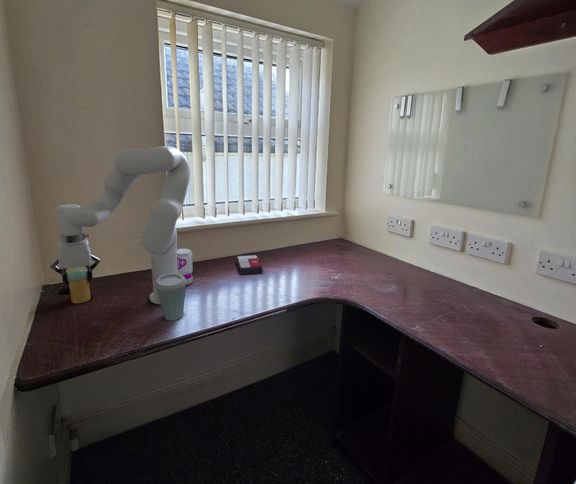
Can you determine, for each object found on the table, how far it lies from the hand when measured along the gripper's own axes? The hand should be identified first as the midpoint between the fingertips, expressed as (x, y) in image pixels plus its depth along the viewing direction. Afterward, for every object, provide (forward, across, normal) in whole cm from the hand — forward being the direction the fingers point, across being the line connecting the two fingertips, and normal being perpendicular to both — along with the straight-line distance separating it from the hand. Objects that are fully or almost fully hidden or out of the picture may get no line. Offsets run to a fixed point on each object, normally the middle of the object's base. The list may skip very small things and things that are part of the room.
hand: (78, 281), depth 122 cm
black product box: (+8, -72, -4) cm, 73 cm away
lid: (-3, 0, 0) cm, 3 cm away
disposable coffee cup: (+8, -30, +27) cm, 41 cm away
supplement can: (+8, -39, 0) cm, 40 cm away
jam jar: (+8, 0, 0) cm, 8 cm away
